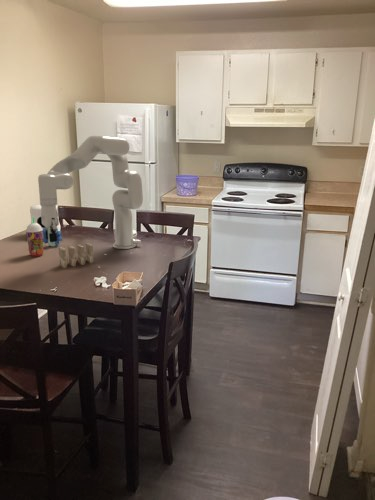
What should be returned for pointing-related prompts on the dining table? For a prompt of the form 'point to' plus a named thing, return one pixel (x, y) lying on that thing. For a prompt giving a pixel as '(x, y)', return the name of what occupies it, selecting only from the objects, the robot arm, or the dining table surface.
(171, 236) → the dining table surface
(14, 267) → the dining table surface
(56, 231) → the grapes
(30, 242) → the smoothie
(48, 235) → the domino
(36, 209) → the milk container
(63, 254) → the domino
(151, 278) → the dining table surface
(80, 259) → the domino
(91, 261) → the domino
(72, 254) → the domino
